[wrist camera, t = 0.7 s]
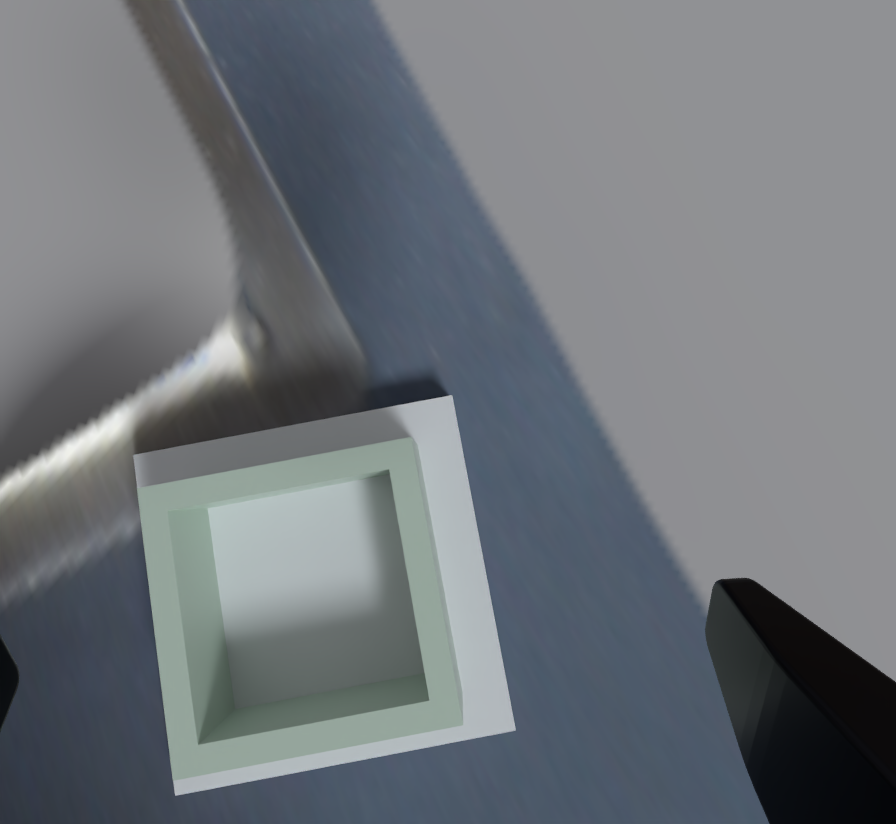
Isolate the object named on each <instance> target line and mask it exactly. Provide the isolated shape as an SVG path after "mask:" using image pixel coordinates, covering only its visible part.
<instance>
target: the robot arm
mask: <svg viewBox="0 0 896 824" xmlns="http://www.w3.org/2000/svg"><path fill="white" fill-rule="evenodd" d="M705 633H706V641H707V646H708V649H709V652H710V655H711V659H712V662H713V665H714V668H715V671H716V675H717V678H718V681H719V684H720V687H721V691H722V694H723V697H724V700H725V703H726V707H727V710H728V713H729V716H730V719H731V723H732V726H733V729H734V732H735V735H736V739H737V742H738V745H739V748H740V751H741V754H742V757H743V760H744V763H745V766H746V769H747V771H748V774H749V776H750V779H751V781H752V784H753V786H754V789H755V791H756V793H757V796H758V798H759V800H760V803H761V805H762V807H763V810H764V812H765V814H766V817H767V819H768V821H769V824H896V682H895V681H894V680H892V679H891V678H889V677H888V676H886V675H885V674H884V673H882V672H881V671H880V670H878V669H877V668H875V667H874V666H873V665H871V664H870V663H869V662H867V661H866V660H864V659H863V658H862V657H860V656H859V655H857V654H856V653H855V652H853V651H852V650H850V649H849V648H848V647H846V646H845V645H843V644H842V643H841V642H839V641H838V640H837V639H835V638H834V637H832V636H831V635H830V634H828V633H827V632H825V631H824V630H823V629H821V628H820V627H818V626H817V625H816V624H814V623H813V622H811V621H810V620H809V619H807V618H806V617H804V616H803V615H802V614H800V613H799V612H797V611H796V610H795V609H793V608H792V607H791V606H789V605H788V604H786V603H785V602H784V601H782V600H781V599H779V598H778V597H777V596H775V595H774V594H772V593H771V592H769V591H768V590H767V589H765V588H764V587H763V586H761V585H760V584H758V583H757V582H755V581H754V580H751V579H749V578H736V579H735V578H734V579H721V580H718V581H716V582H715V584H714V586H713V589H712V594H711V599H710V605H709V610H708V616H707V621H706V628H705ZM18 683H19V669H18V666H17V664H16V662H15V660H14V659H13V657H12V655H11V653H10V651H9V649H8V648H7V646H6V644H5V642H4V640H3V639H2V637H1V635H0V732H1V729H2V727H3V724H4V722H5V719H6V717H7V714H8V711H9V709H10V706H11V704H12V701H13V698H14V696H15V693H16V691H17V688H18Z"/></svg>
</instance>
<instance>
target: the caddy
mask: <svg viewBox="0 0 896 824" xmlns="http://www.w3.org/2000/svg"><path fill="white" fill-rule="evenodd" d="M133 457H134V465H135V473H136V482H137V493H138V502H139V510H140V518H141V526H142V534H143V542H144V550H145V558H146V566H147V575H148V583H149V591H150V599H151V607H152V615H153V623H154V631H155V639H156V648H157V656H158V664H159V672H160V680H161V688H162V696H163V704H164V712H165V721H166V729H167V737H168V745H169V753H170V761H171V769H172V777H173V781H174V790H175V796H176V795H182V794H187V793H192V792H197V791H203V790H208V789H213V788H218V787H223V786H229V785H234V784H239V783H244V782H249V781H255V780H260V779H265V778H270V777H276V776H281V775H286V774H291V773H296V772H302V771H307V770H312V769H317V768H323V767H328V766H333V765H338V764H343V763H349V762H354V761H359V760H364V759H369V758H375V757H380V756H385V755H390V754H396V753H401V752H406V751H411V750H416V749H422V748H427V747H432V746H437V745H443V744H448V743H453V742H458V741H463V740H469V739H474V738H479V737H484V736H489V735H495V734H500V733H505V732H510V731H516V729H515V724H514V718H513V713H512V708H511V703H510V697H509V692H508V687H507V682H506V676H505V671H504V666H503V661H502V655H501V650H500V645H499V640H498V634H497V629H496V624H495V618H494V613H493V608H492V603H491V597H490V592H489V587H488V582H487V576H486V571H485V566H484V561H483V555H482V550H481V545H480V540H479V534H478V529H477V524H476V519H475V513H474V508H473V503H472V497H471V492H470V487H469V482H468V476H467V471H466V466H465V461H464V455H463V450H462V445H461V440H460V434H459V429H458V424H457V419H456V413H455V408H454V403H453V397H452V395H450V396H445V397H439V398H434V399H429V400H423V401H418V402H413V403H407V404H402V405H397V406H391V407H386V408H381V409H375V410H370V411H365V412H359V413H354V414H349V415H343V416H338V417H333V418H327V419H322V420H317V421H311V422H306V423H300V424H295V425H290V426H284V427H279V428H274V429H268V430H263V431H258V432H252V433H247V434H242V435H236V436H231V437H226V438H220V439H215V440H210V441H204V442H199V443H194V444H188V445H183V446H178V447H172V448H167V449H162V450H156V451H151V452H146V453H140V454H135V455H133Z"/></svg>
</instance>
